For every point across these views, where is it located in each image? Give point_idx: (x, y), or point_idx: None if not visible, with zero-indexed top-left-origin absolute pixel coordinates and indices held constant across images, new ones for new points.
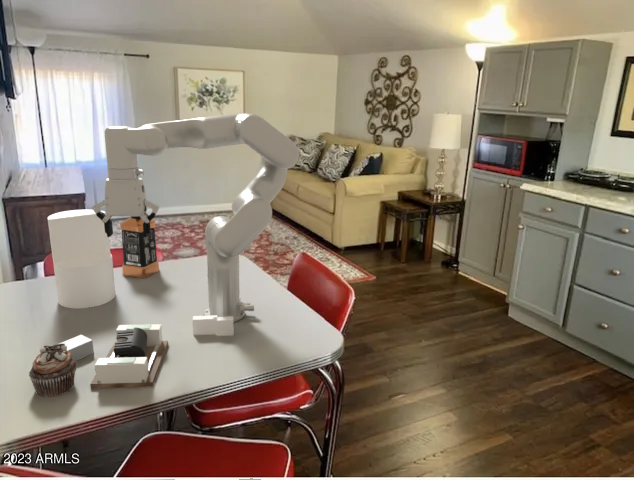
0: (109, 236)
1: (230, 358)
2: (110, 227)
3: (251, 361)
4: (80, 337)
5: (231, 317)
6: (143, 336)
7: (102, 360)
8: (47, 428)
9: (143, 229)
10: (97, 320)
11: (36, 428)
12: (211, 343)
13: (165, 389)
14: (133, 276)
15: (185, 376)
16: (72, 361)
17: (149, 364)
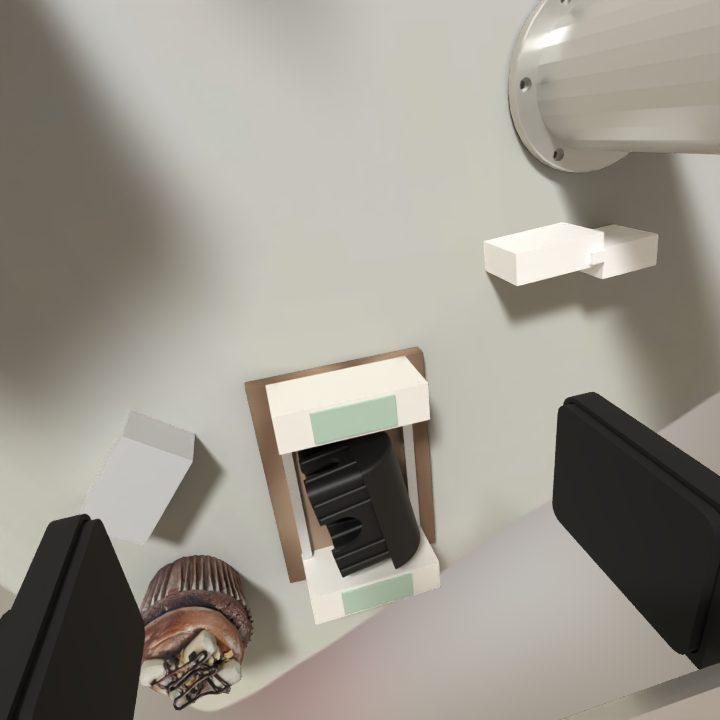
0: (136, 628)
1: (598, 388)
2: (103, 704)
3: (646, 392)
4: (135, 454)
5: (651, 244)
6: (400, 487)
7: (325, 605)
8: (271, 681)
9: (619, 585)
10: (33, 185)
11: (250, 687)
12: (546, 317)
13: (460, 534)
14: None
15: (496, 483)
16: (242, 626)
17: (413, 498)
